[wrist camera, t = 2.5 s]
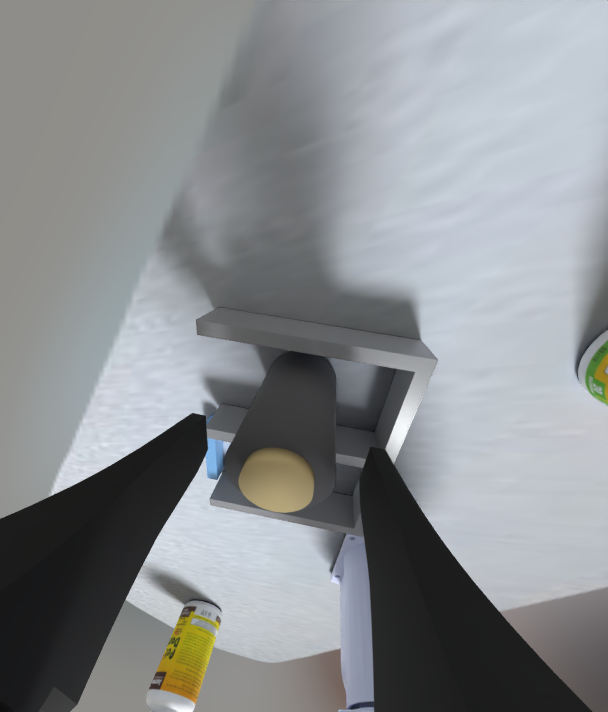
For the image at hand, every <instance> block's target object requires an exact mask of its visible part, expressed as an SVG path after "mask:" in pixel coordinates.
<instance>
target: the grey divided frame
mask: <svg viewBox="0 0 608 712" xmlns="http://www.w3.org/2000/svg"><path fill="white" fill-rule="evenodd" d="M196 325H197V335H201V336H207V337H213V338H219V339H225V340H230V341H236V342H242V343H248V344H254V345H260V346H266V347H272V348H277V349H283V350H289V351H295V352H301V353H307V354H313V355H319V356H324V357H330V358H336V359H342V360H348V361H354V362H360V363H366V364H371V365H377V366H383V367H389V368H395V369H396V371H395V374H394V377H393V380H392V383H391V386H390V389H389V392H388V395H387V398H386V400H385V403H384V406H383V409H382V412H381V415H380V418H379V421H378V424H377V426H376V429H375V432H371V431H366V430H360V429H355V428H349V427H344V426H339V425H336V463H339V464H344V465H349V466H355V467H360V468H362V469H363V467H364V464H365V461H366V458H367V455H368V452H369V449H370V447H376V448H381V449H385V450H386V451H387V453H388V455H389V457H390V458H391V460H392V462H393V464H394V463H395V460H396V458H397V456H398V453H399V451H400V449H401V446H402V444H403V442H404V439H405V437H406V435H407V432H408V430H409V428H410V425H411V423H412V421H413V418H414V416H415V414H416V411H417V409H418V406H419V404H420V402H421V399H422V397H423V395H424V392H425V390H426V388H427V385H428V383H429V381H430V378H431V376H432V374H433V371H434V369H435V367H436V364H437V362H438V359H437V358H436V357H435V356H434V355H433V353H432V352H431V351H430V350H429V349H428V348H427V346H426V345H425V344H424V343H423V342H422V340H416V339H410V338H404V337H398V336H392V335H385V334H379V333H373V332H367V331H361V330H355V329H349V328H342V327H336V326H330V325H324V324H318V323H312V322H306V321H299V320H293V319H287V318H281V317H275V316H269V315H263V314H256V313H250V312H244V311H238V310H232V309H226V308H220V307H218V308H216V309H215V310H213V311H211V312H209V313H207V314H206V315H204V316H202V317H200V318H199V319H197V320H196ZM248 410H249V409H247V408H242V407H236V406H231V405H226V404H221V405H220V407H219V408H218V410H217V411H216V412H215V414H214V415H211V416H210V418H209V419H208V420H207V422H206V426H207V440H208V451H207V453H206V463H207V476H208V478H210V479H215V480H217V479H218V477H219V475H220V473H221V471H222V469H223V467H224V463H223V441H226V442H231V443H232V441H233V439H234V437H235V435H236V433H237V431H238V429H239V427H240V425H241V423H242V421H243V420H244V418H245V416H246V414H247V412H248ZM361 472H362V470H361ZM360 475H361V473H360ZM359 478H360V476H359ZM210 505H212V506H217V507H222V508H226V509H231V510H236V511H241V512H245V513H250V514H255V515H260V516H264V517H269V518H274V519H279V520H283V521H288V522H293V523H298V524H302V525H307V526H312V527H317V528H321V529H326V530H331V531H336V532H341V533H345V534H350V535H355V536H360V537H363V535H364V534H363V526H362V518H361V510H360V494H359V479H358V482H357V484H356V487H355V490H354V493H353V496H348V495H343V494H339V493H334V492H332V493H331V494H330V495H329V496H328V498H327V499H325V500H324V501H323V502H321V503H319V504H318V505H315V506H313V507H310V508H306V509H301V510H298V511H294V512H287V513H281V512H273V511H269V510H266V509H263V508H261V507H259V506H257V505H255V504H253V503H252V502H251V501H249V500H248V499H247V498H246V497H245V496H244V495H243V494H242V493H241V492H240V491H239V490H238V489H236V488H235V486H234V485H233V484H232V483H231V481H230V480H229V478H228V476H227V474H226V471H223V473H222V475H221V477H220V479H219V481H218V483H217V485H216V487H215V489H214V491H213V493H212V495H211V497H210Z"/></svg>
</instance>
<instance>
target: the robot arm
mask: <svg viewBox="0 0 608 712" xmlns="http://www.w3.org/2000/svg"><path fill="white" fill-rule="evenodd" d="M207 451H208V440H207V426H206V416H205V415H200V414H194V413H192V414H190V415H189V416H187V417H186V418H184V419H183V420H181V421H180V422H178V423H177V424H175V425H174V426H172V427H171V428H169V429H168V430H166V431H165V432H163V433H162V434H160V435H159V436H157V437H156V438H154V439H153V440H151V441H150V442H148V443H147V444H145V445H144V446H142V447H141V448H139V449H137V450H136V451H134V452H132V453H131V454H129V455H127V456H126V457H124V458H122V459H121V460H119V461H117V462H116V463H114V464H112V465H111V466H109V467H107V468H105V469H104V470H102V471H100V472H98V473H96V474H94V475H92V476H91V477H89V478H87V479H85V480H83V481H81V482H79V483H77V484H75V485H73V486H71V487H69V488H67V489H65V490H63V491H61V492H59V493H57V494H54V495H52V496H50V497H48V498H46V499H44V500H42V501H40V502H38V503H35V504H33V505H31V506H29V507H27V508H24V509H22V510H20V511H18V512H15V513H13V514H11V515H8V516H6V517H4V518H1V519H0V712H70V711H71V710H72V709H73V708H74V707H75V706H76V705H77V704H78V702H79V699H80V697H81V695H82V693H83V690H84V688H85V686H86V683H87V681H88V679H89V677H90V675H91V672H92V670H93V668H94V666H95V663H96V661H97V659H98V657H99V654H100V652H101V650H102V648H103V646H104V643H105V641H106V639H107V637H108V635H109V633H110V631H111V628H112V626H113V624H114V622H115V620H116V618H117V616H118V614H119V612H120V609H121V607H122V605H123V603H124V601H125V599H126V597H127V595H128V593H129V591H130V589H131V587H132V585H133V583H134V581H135V579H136V577H137V575H138V573H139V571H140V569H141V567H142V565H143V563H144V561H145V559H146V557H147V556H148V554H149V552H150V550H151V548H152V546H153V544H154V542H155V540H156V538H157V537H158V535H159V533H160V531H161V530H162V528H163V526H164V525H165V523H166V521H167V520H168V518H169V517H170V515H171V513H172V512H173V510H174V509H175V507H176V505H177V504H178V502H179V501H180V499H181V498H182V496H183V494H184V493H185V491H186V490H187V488H188V486H189V485H190V483H191V481H192V480H193V478H194V477H195V475H196V473H197V472H198V470H199V468H200V466H201V464H202V461H203V459H204V457H205V455H206V453H207ZM359 494H360V510H361V518H362V526H363V534H364V535H363V537H360V536H355V535H350V534H346V536H345V539H344V542H343V544H342V547H341V550H340V553H339V555H338V558H337V561H336V563H335V566H334V569H333V572H332V574H331V581H332V582H333V583H337V584H340V612H341V670H342V677H343V683H344V687H345V690H346V696H347V710H340V709H339V711H338V712H592V711H591V710H590V709H589V708H588V707H587V706H586V705H585V704H584V703H583V702H582V701H581V700H580V699H579V697H577V695H576V694H575V693H574V692H572V690H571V689H570V688H569V687H568V686H567V685H566V684H565V683H564V682H563V681H562V680H561V679H560V678H559V677H558V676H557V675H556V674H555V673H554V672H553V671H552V670H551V669H550V668H549V667H548V666H547V664H546V663H545V662H544V661H543V660H542V659H541V658H540V657H539V656H538V655H537V654H536V652H535V651H534V650H533V649H532V648H531V647H530V646H529V645H528V644H527V643H526V642H525V641H524V639H523V638H522V637H521V636H520V635H519V634H518V633H517V632H516V631H515V629H514V628H513V627H512V626H511V625H510V624H509V623H508V622H507V620H506V619H505V618H504V617H503V616H502V614H501V613H500V612H499V611H498V610H497V609H496V607H495V606H494V605H493V604H492V603H491V602H490V600H489V599H488V598H487V597H486V596H485V594H484V593H483V592H482V591H481V590H480V589H479V587H478V586H477V585H476V584H475V583H474V581H473V580H472V579H471V578H470V576H469V575H468V574H467V573H466V571H465V570H464V569H463V568H462V566H461V565H460V564H459V562H458V561H457V560H456V558H455V557H454V556H453V555H452V553H451V552H450V551H449V549H448V548H447V547H446V545H445V544H444V542H443V541H442V540H441V538H440V537H439V535H438V534H437V533H436V531H435V530H434V528H433V527H432V525H431V524H430V522H429V521H428V519H427V518H426V516H425V515H424V513H423V512H422V510H421V509H420V507H419V506H418V504H417V502H416V501H415V499H414V498H413V496H412V494H411V493H410V491H409V490H408V488H407V486H406V485H405V483H404V481H403V479H402V478H401V476H400V474H399V473H398V471H397V469H396V467H395V466H394V464H393V462H392V460H391V458H390V457H389V455H388V453H387V451H386V450H385V449H381V448H376V447H370V449H369V452H368V455H367V458H366V461H365V464H364V467H363V469H362V472H361V475H360V478H359Z"/></svg>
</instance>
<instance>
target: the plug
mask: <svg viewBox="0 0 608 712" xmlns="http://www.w3.org/2000/svg"><path fill="white" fill-rule="evenodd" d="M224 465H225V470H226V474H227V476H228V478H229V480H230V481H231V483H232V484H233V485H234V486H235V488H236V489H238V490H239V491H240V492H241V493H242V494H243V495H244V496H245V497H246V498H247V499H248V500H249V501H251V502H252V503H253V504H255V505H257V506H259V507H261V508H263V509H266V510H269V511H273V512H281V513H287V512H294V511H298V510H301V509H306V508H310V507H313V506H315V505H318V504H319V503H321V502H323V501H324V500H325V499H327V498H328V496H329V495H330V494H331V493H332V491H333V489H334V487H335V482H336V375H335V372H334V369H333V367H332V366H331V364H330V363H329V362H328V361H327V360H326V359H325V358H324V357H322V356H319V355H313V354H307V353H301V352H295V351H288V352H286V353H284V354H282V355H281V356H279V357H278V358H277V359H276V360H275V361H274V363H273V364H272V366H271V368H270V370H269V372H268V374H267V376H266V377H265V379H264V381H263V383H262V385H261V387H260V389H259V391H258V393H257V395H256V397H255V398H254V400H253V402H252V404H251V406H250V408H249V410H248V412H247V414H246V416H245V418H244V420H243V421H242V423H241V425H240V427H239V429H238V431H237V433H236V435H235V437H234V439H233V441H232V443H231V444H230V446H229V448H228V450H227V452H226V455H225V460H224Z"/></svg>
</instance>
